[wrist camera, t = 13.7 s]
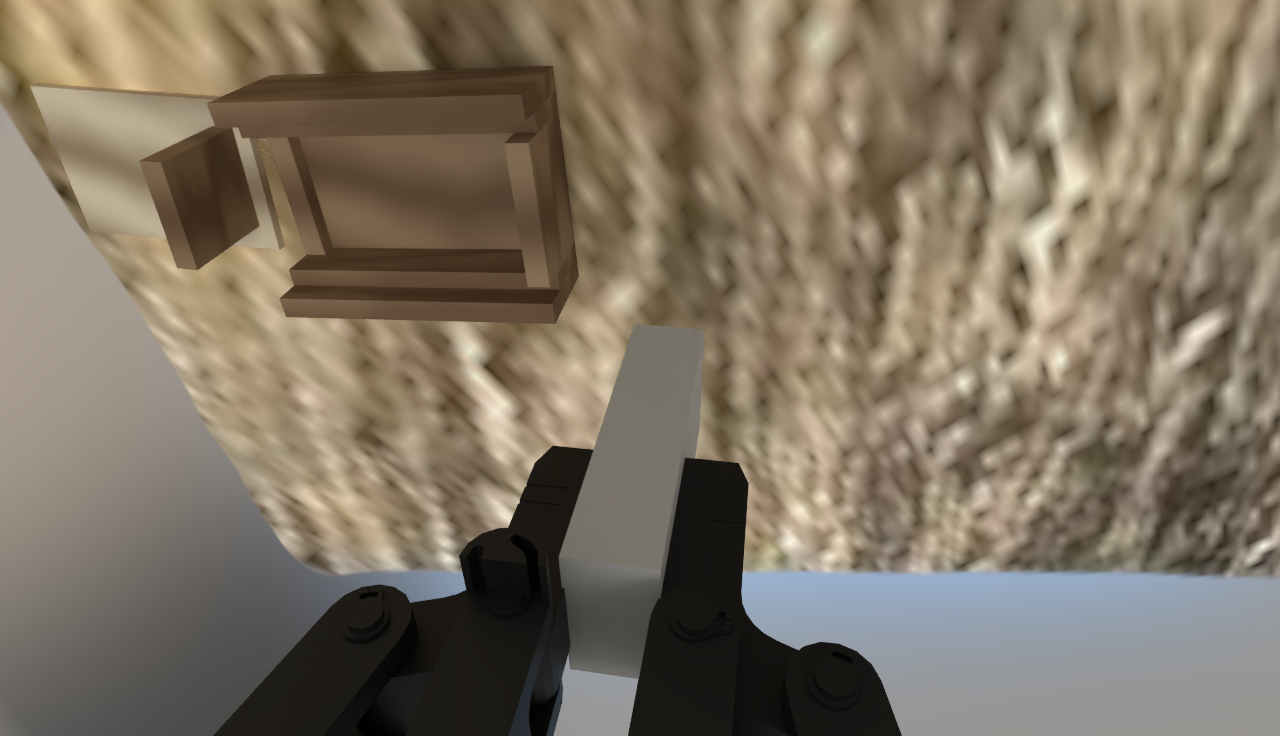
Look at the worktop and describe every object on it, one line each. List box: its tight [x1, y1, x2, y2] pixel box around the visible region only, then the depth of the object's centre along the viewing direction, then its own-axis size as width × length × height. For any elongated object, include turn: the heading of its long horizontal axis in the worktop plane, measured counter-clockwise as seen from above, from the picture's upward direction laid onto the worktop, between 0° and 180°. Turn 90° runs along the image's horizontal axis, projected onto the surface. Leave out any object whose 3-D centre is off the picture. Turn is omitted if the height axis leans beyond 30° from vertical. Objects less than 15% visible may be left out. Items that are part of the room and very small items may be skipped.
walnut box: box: [207, 66, 578, 324], centre depth 41 cm, size 12×16×6 cm
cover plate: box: [30, 84, 285, 270], centre depth 43 cm, size 9×13×7 cm
